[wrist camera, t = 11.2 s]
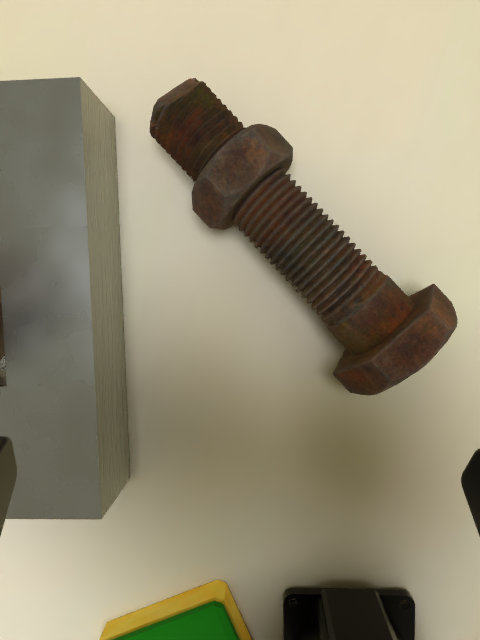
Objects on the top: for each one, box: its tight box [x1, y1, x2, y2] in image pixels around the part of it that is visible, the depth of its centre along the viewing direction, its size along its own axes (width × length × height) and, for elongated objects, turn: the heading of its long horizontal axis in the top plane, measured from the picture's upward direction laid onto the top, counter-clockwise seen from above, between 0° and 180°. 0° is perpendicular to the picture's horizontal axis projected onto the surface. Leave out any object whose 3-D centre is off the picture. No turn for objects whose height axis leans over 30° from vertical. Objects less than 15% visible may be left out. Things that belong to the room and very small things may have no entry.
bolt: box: [150, 78, 457, 395], centre depth 19 cm, size 6×5×15 cm
